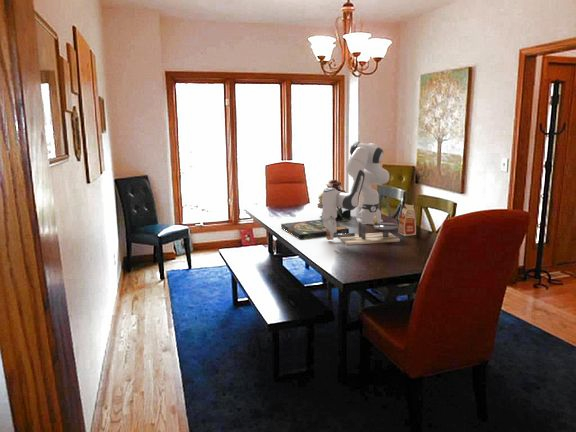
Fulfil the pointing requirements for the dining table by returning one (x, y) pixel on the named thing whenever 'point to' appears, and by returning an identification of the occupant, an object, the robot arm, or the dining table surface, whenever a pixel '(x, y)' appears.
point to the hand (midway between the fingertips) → (329, 236)
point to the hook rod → (339, 235)
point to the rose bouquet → (345, 214)
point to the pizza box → (311, 229)
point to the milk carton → (407, 221)
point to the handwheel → (384, 225)
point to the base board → (369, 237)
